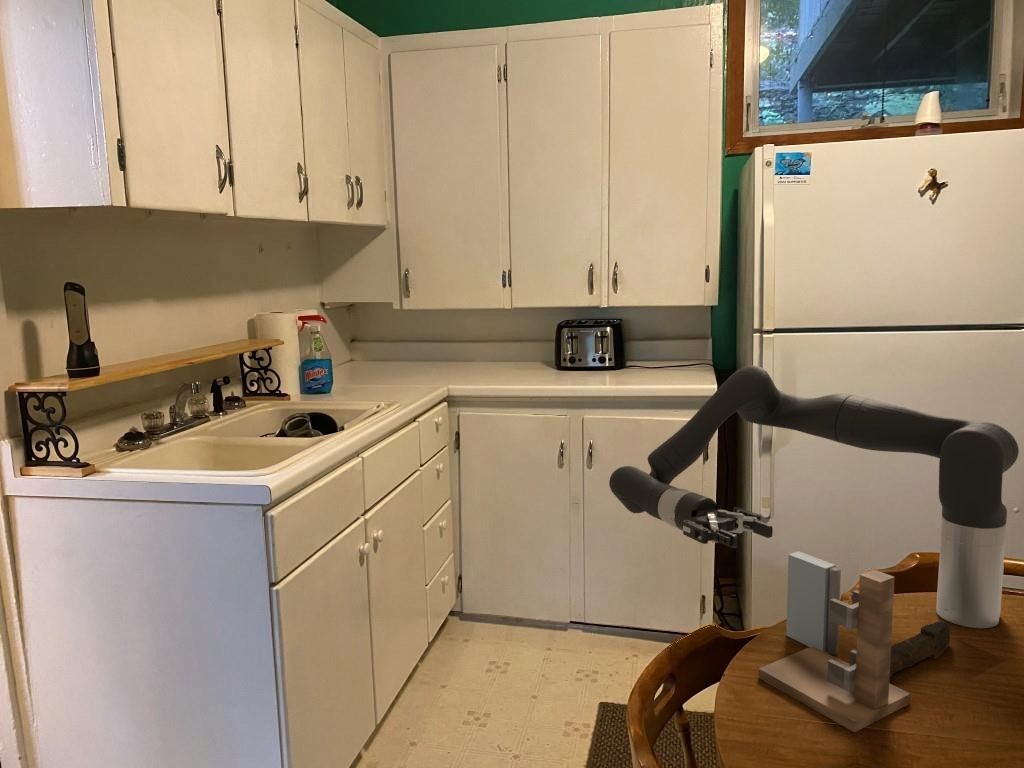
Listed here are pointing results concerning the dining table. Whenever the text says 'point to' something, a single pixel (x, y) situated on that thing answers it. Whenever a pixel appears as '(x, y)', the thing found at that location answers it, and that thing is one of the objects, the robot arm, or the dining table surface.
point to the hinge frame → (839, 685)
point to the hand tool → (920, 646)
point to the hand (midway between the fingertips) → (753, 537)
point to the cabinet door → (812, 601)
